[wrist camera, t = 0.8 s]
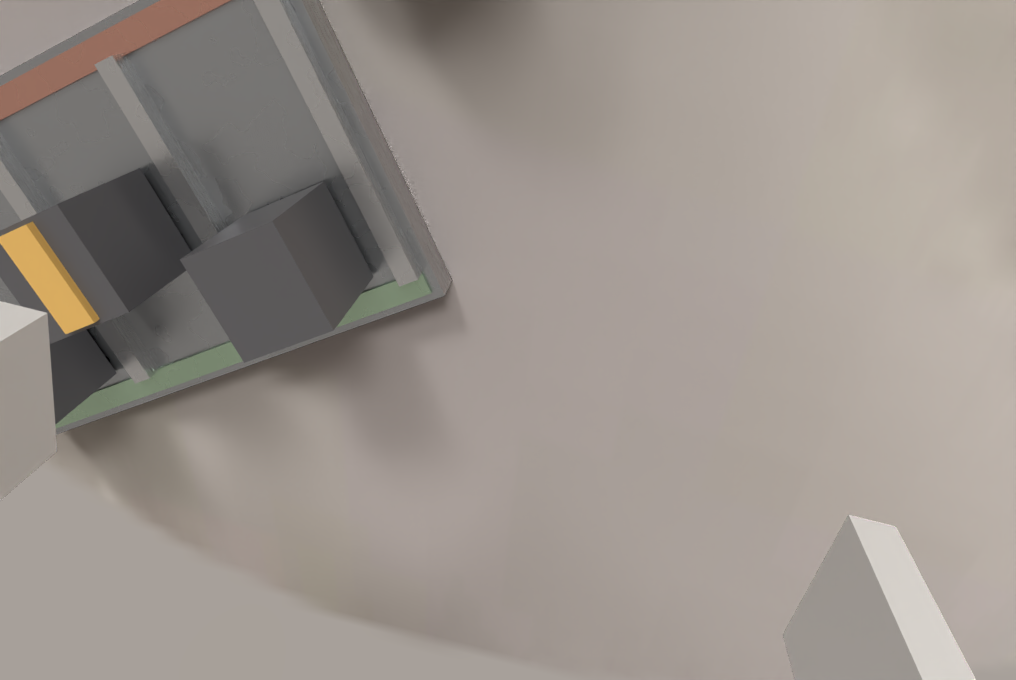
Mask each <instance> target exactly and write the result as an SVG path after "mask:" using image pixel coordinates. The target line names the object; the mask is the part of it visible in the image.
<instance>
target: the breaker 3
mask: <svg viewBox="0 0 1016 680" xmlns="http://www.w3.org/2000/svg"><path fill="white" fill-rule="evenodd" d="M180 261H181V262H182V264H183V266H184V267H185V269H186V270H187V272H188V274H189V275H190V277H191V278H192V280H193V282H194V283H195V285H196V287H197V288H198V290H199V291H200V293H201V295H202V296H203V298H204V299H205V301H206V303H207V304H208V306H209V307H210V309H211V311H212V312H213V314H214V315H215V317H216V319H217V320H218V322H219V323H220V325H221V327H222V328H223V330H224V331H225V333H226V335H227V336H228V338H229V339H230V341H231V343H232V344H233V346H234V347H235V349H236V351H237V352H238V354H239V355H240V357H241V359H242V360H243V362H244V363H245V362H248V361H251V360H253V359H256V358H259V357H262V356H265V355H267V354H270V353H273V352H276V351H278V350H281V349H284V348H287V347H290V346H292V345H295V344H298V343H301V342H304V341H306V340H309V339H312V338H315V337H317V336H320V335H323V334H326V333H329V332H331V331H334V330H335V328H336V327H337V326H338V324H339V323H340V322H341V320H342V319H343V317H344V316H345V315H346V313H347V312H348V311H349V309H350V308H351V307H352V305H353V304H354V303H355V301H356V300H357V299H358V297H359V296H360V295H361V293H362V292H363V291H364V289H365V288H366V286H367V285H368V284H369V282H370V281H371V280H372V278H373V277H374V276H373V275H372V273H371V271H370V269H369V267H368V265H367V263H366V261H365V259H364V257H363V255H362V253H361V251H360V250H359V248H358V246H357V244H356V242H355V240H354V238H353V236H352V234H351V232H350V230H349V228H348V226H347V225H346V223H345V221H344V219H343V217H342V215H341V213H340V211H339V209H338V207H337V205H336V203H335V201H334V200H333V198H332V196H331V194H330V192H329V190H328V188H327V186H326V184H325V182H324V181H323V182H321V183H319V184H316V185H314V186H312V187H309V188H307V189H305V190H302V191H300V192H297V193H295V194H293V195H290V196H288V197H286V198H283V199H281V200H279V201H276V202H274V203H271V204H269V205H267V206H264V207H262V208H260V209H257V210H255V211H253V212H250V213H248V214H246V215H243V216H242V217H240V218H239V219H237V220H236V221H235V222H233V223H232V224H230V225H229V226H227V227H226V228H225V229H223V230H222V231H220V232H219V233H217V234H216V235H214V236H213V237H212V238H210V239H209V240H207V241H206V242H204V243H203V244H201V245H200V246H199V247H197V248H196V249H194V250H193V251H191V252H190V253H189V254H187V255H186V256H184V257H183V258H181V259H180Z"/></svg>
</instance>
